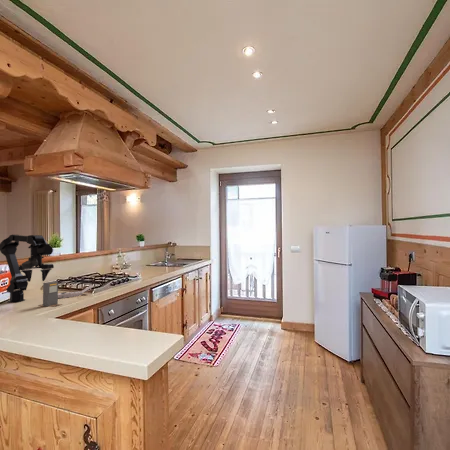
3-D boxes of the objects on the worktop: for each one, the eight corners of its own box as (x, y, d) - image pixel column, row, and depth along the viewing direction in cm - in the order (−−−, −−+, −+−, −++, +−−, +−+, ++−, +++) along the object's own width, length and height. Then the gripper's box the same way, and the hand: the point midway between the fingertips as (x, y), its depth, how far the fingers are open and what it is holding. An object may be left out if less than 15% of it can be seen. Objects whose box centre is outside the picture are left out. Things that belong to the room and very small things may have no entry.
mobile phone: (94, 285, 188) (52, 290, 171) (94, 294, 187) (52, 300, 170) (91, 284, 192) (50, 289, 175) (91, 293, 192) (50, 298, 175)
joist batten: (38, 305, 155) (38, 305, 155) (45, 303, 159) (45, 303, 159) (55, 306, 152) (55, 306, 152) (62, 304, 156) (62, 303, 156)
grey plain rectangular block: (42, 305, 154) (43, 282, 154) (53, 303, 159) (53, 281, 160) (47, 306, 152) (48, 283, 153) (57, 304, 157) (58, 281, 158)
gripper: (10, 256, 157) (10, 283, 156) (40, 255, 155) (40, 282, 154) (26, 255, 168) (26, 281, 167) (54, 254, 166) (54, 280, 165)
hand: (36, 281), depth 163 cm, fingers open, 9 cm apart
